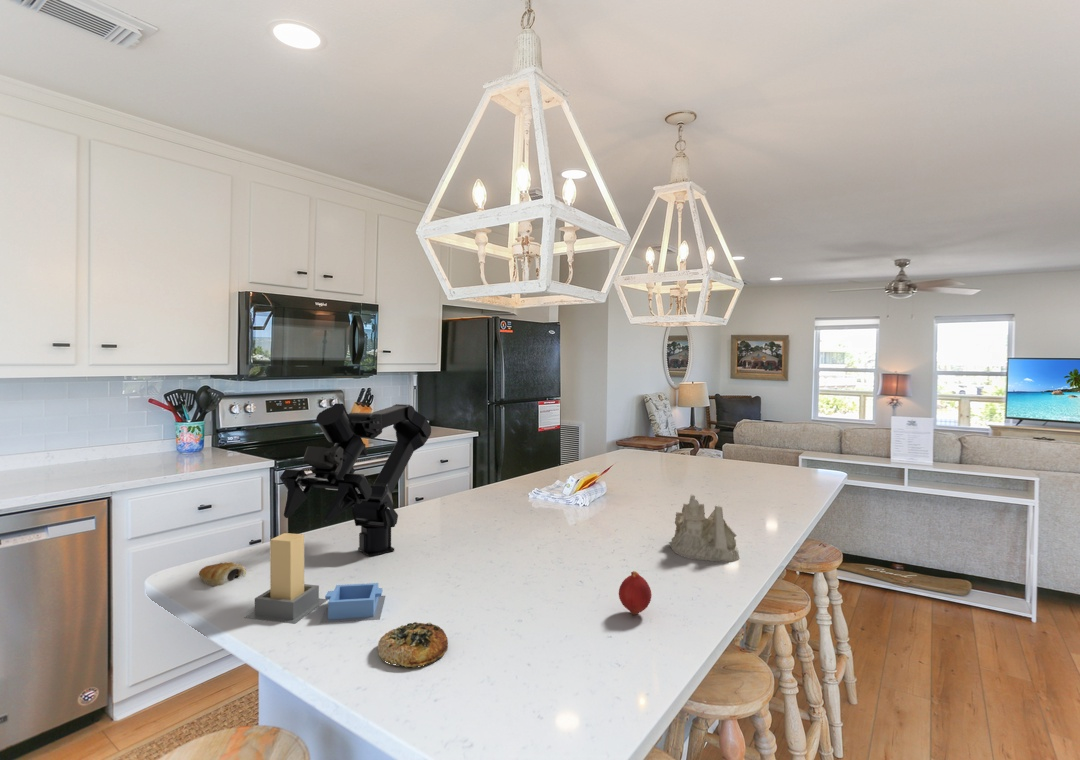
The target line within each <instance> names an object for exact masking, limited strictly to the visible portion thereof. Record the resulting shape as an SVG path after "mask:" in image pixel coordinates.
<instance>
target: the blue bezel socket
mask: <svg viewBox="0 0 1080 760" xmlns="http://www.w3.org/2000/svg"><path fill="white" fill-rule="evenodd" d="M379 584H380V583H379V582H373V583H372V582H371V583H370V582H369V583H352V584H351V583H350V584H336V586H335V587H334V589H333V590H328V591H327V592H326V594H325V597H324V599H325V600H327V601H328V602H327V607H326V609H325V610H324V613H323V614H322V617H321V619H320V621H319V624H330V623H344V622H345V623H346V622H348V623H349V622H360V621H361V622H362V621H363V622H364V621H374V620H375V621H379V620H381V616H382V612H383V608H384V604H385V601H386V595H382V594H383V587H381V588H379Z"/></svg>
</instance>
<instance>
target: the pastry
mask: <svg viewBox="0 0 1080 760" xmlns="http://www.w3.org/2000/svg"><path fill="white" fill-rule="evenodd" d="M246 575H247V570H246V569H245V567H244V566H243V565H242V564H237V563H233V562H230V561H229V562H220V563H216V564H215V563H214V564H210V565H206V566H204V567H203V568H201V569H200V570H199V572H198V576H199V578H200V579H201V580H202V582H204V584H205V585H209V586H212V587H217V586H222V585H225V584H228V583H230V582H232V581H234V580H235V579H237V580H239V579H242V578H245V577H246Z"/></svg>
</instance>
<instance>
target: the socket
mask: <svg viewBox="0 0 1080 760" xmlns="http://www.w3.org/2000/svg"><path fill="white" fill-rule="evenodd" d="M319 587H320V585H317V584H306V583H304V593H302V594H301V595H299V596H298V597H296V598H295V599H293V600H285V599H276V598H270V589H267V591H265V592H263V593H262V594H260V595H258V596H256V597H254V611H252V612H251V613H249V614H248V615H246V616H244V617H243V618H244V619H251V620H257V621H267V622H277V623H284V624H298V622H300V621H301V620H303V619H304V618H305V617H307V616H308V615H310V614H311V613H312V612H313V611H315V610H316V609H317V608H319V607H320V606H322V605H324V603H326V602H327V601H328V600H325V598H320V593H319V591H320V588H319Z"/></svg>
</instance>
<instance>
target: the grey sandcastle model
mask: <svg viewBox="0 0 1080 760" xmlns="http://www.w3.org/2000/svg"><path fill="white" fill-rule="evenodd" d="M688 502H689V503H686V502H685V503H683V504H682V505H683V506H682V508H681V511H676V512H675V518H674V520H675V521H674V524H675V530H674V532H675V533H674V535H673V537H672V538H671V541H670V546H669V548H671V550H672V551H673V552H674V553H675V554H676V553H677V555H678V556H680V555H681V557H683V556H684V558H686V557H687V559H690V560H698V561H707V560H710V562H721V561H724V563H731V562H737V561H739V560H740V559H741V558H740V555H739V549H738V547H737V540H736V539H735V537H737V536H738V534H736V532H734V530H733V528H732V527H731V526H730V525H729V524H727V522H726V520H725V519H724V512H723V506H722V505H720V504H716V505H714V509H713V511H712V512H711V513H710V514H709V516H708V518H707V517H706V516H705V514H706V512H705V504H704V503H700V502H699V500H698V499H697V498H696V496H695V494H690V497H689V501H688Z"/></svg>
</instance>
